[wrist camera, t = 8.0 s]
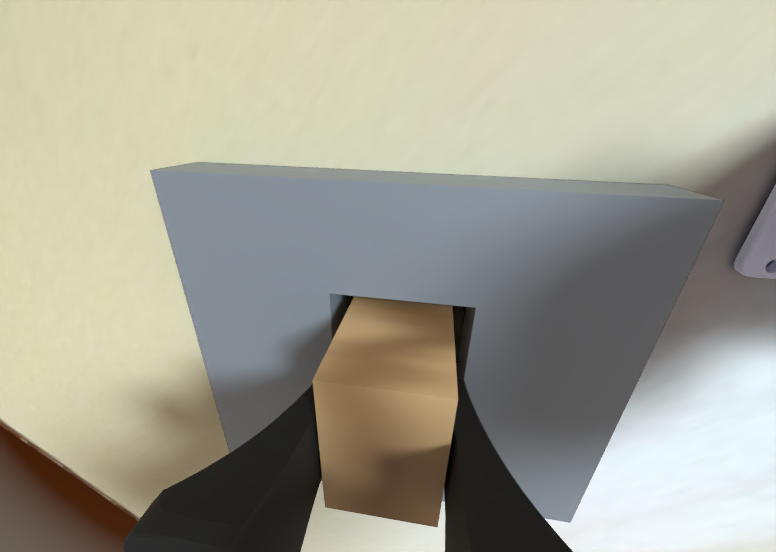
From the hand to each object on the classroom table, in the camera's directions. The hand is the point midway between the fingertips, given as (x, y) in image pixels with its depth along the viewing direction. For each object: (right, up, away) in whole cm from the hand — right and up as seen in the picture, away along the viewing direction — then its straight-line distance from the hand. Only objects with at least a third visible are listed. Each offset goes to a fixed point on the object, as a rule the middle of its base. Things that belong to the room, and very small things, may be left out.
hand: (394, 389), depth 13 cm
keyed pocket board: (0, +1, +3) cm, 3 cm away
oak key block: (0, +1, +1) cm, 2 cm away
